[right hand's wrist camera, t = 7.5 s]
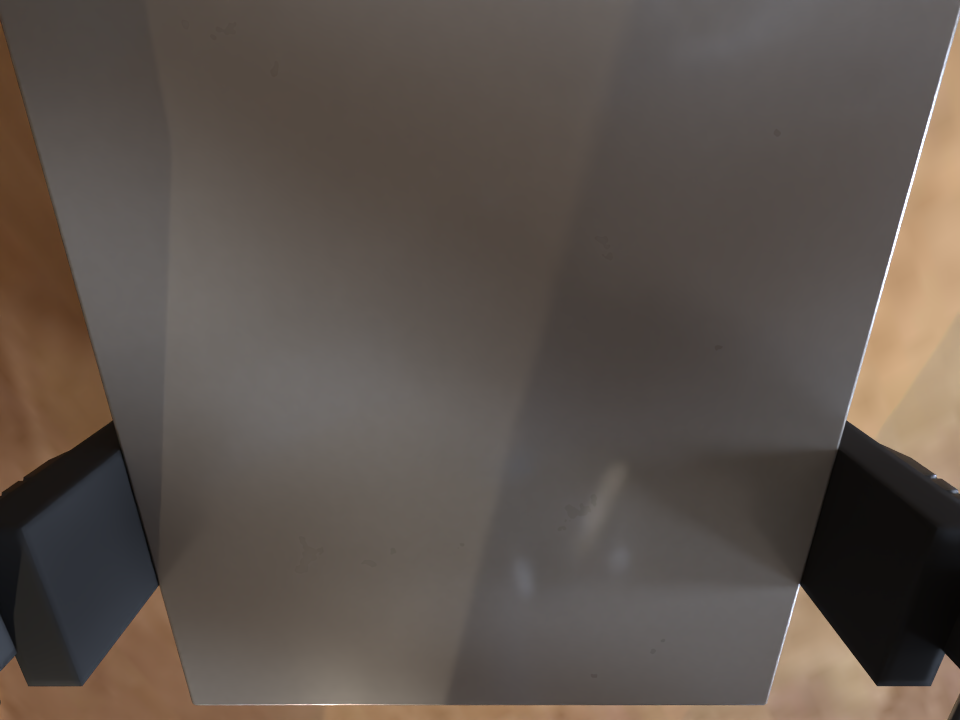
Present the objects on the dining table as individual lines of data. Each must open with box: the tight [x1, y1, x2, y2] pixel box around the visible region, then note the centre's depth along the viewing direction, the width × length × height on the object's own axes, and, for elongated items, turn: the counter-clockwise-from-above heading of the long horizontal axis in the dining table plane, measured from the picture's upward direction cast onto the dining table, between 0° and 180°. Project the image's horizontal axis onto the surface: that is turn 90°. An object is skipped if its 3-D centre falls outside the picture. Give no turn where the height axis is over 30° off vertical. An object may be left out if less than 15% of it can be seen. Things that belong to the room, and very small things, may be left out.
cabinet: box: [0, 0, 960, 705], centre depth 11 cm, size 21×11×9 cm, turn 0°
